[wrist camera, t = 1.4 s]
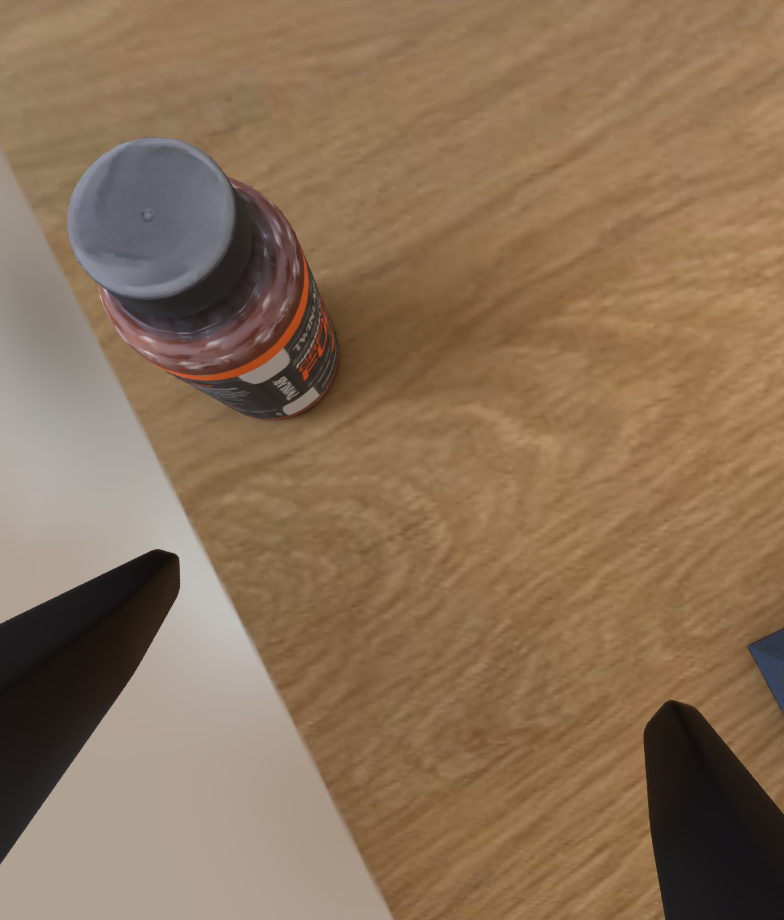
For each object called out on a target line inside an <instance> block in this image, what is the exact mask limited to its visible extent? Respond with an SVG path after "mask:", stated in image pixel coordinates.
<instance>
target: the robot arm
mask: <svg viewBox="0 0 784 920" xmlns="http://www.w3.org/2000/svg"><path fill="white" fill-rule="evenodd" d="M179 589H180V565H179V557H178V556H177V555H176V554H174V553H170V552H167V551H164V550H160V549H156V550H152V551H150V552H148V553H146V554H143V555H141V556H139V557H137V558H135V559H133V560H131V561H129V562H127V563H125V564H123V565H121V566H119V567H117V568H115V569H112V570H110V571H108V572H106V573H105V574H102V575H100V576H98V577H96V578H94V579H92V580H90V581H88V582H86V583H84V584H82V585H79V586H77V587H75V588H73V589H71V590H69V591H67V592H65V593H63V594H61V595H59V596H57V597H55V598H53V599H50V600H48V601H46V602H44V603H42V604H40V605H38V606H36V607H34V608H32V609H30V610H28V611H26V612H24V613H22V614H19V615H17V616H15V617H13V618H11V619H9V620H7V621H5V622H3V623H1V624H0V864H1V862H2V861H3V860H4V858H5V857H6V856H7V854H8V853H9V851H10V850H11V848H12V847H13V846H14V844H15V843H16V841H17V840H18V838H19V837H20V836H21V834H22V832H23V831H24V830H25V828H26V827H27V826H28V824H29V823H30V821H31V820H32V819H33V817H34V816H35V814H36V813H37V811H38V810H39V809H40V807H41V806H42V804H43V803H44V801H45V800H46V798H47V797H48V796H49V794H50V793H51V791H52V790H53V789H54V787H55V786H56V784H57V783H58V782H59V780H60V779H61V777H62V776H63V774H64V773H65V772H66V770H67V768H68V767H69V766H70V764H71V763H72V762H73V760H74V759H75V757H76V756H77V754H78V753H79V752H80V750H81V749H82V747H83V746H84V744H85V743H86V742H87V740H88V739H89V737H90V736H91V735H92V733H93V732H94V730H95V729H96V727H97V726H98V724H99V723H100V722H101V720H102V719H103V717H104V716H105V715H106V713H107V712H108V710H109V709H110V707H111V706H112V705H113V703H114V702H115V700H116V699H117V698H118V696H119V695H120V693H121V692H122V690H123V689H124V687H125V686H126V685H127V683H128V681H129V680H130V679H131V677H132V676H133V674H134V672H135V671H136V669H137V667H138V665H139V664H140V662H141V661H142V659H143V657H144V655H145V653H146V652H147V650H148V648H149V646H150V644H151V643H152V641H153V639H154V637H155V635H156V634H157V632H158V630H159V628H160V627H161V625H162V623H163V621H164V619H165V618H166V616H167V614H168V612H169V610H170V609H171V607H172V605H173V603H174V602H175V600H176V598H177V595H178V593H179ZM644 752H645V766H646V780H647V793H648V807H649V819H650V829H651V837H652V844H653V850H654V856H655V862H656V868H657V873H658V879H659V885H660V891H661V897H662V902H663V908H664V914H665V920H784V814H783V813H782V812H781V810H780V809H779V808H778V807H777V806H776V804H775V803H774V802H773V801H772V800H771V798H770V797H769V796H768V795H767V793H766V792H765V791H764V790H763V789H762V787H761V786H760V785H759V784H758V782H757V781H756V780H755V779H754V778H753V776H752V775H751V774H750V773H749V772H748V770H747V769H746V768H745V767H744V765H743V764H742V763H741V762H740V761H739V759H738V758H737V757H736V756H735V754H734V753H733V752H732V751H731V750H730V748H729V747H728V746H727V745H726V744H725V742H724V741H723V740H722V739H721V737H720V736H719V735H718V734H717V733H716V731H715V730H714V729H713V728H712V726H711V725H710V724H709V723H708V722H707V720H706V719H705V718H704V717H703V716H702V714H701V713H700V712H699V711H698V710H697V709H696V708H695V707H693V706H691V705H688V704H685V703H681V702H678V701H674V700H669V701H666V702H665V703H664V704H663V705H662V707H661V708H660V709H659V710H658V711H657V712H656V714H655V715H654V716H653V717H652V718H651V720H650V721H649V722H648V723H647V725H646V727H645V730H644Z"/></svg>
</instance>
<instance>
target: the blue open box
mask: <svg viewBox="0 0 784 920" xmlns="http://www.w3.org/2000/svg"><path fill="white" fill-rule="evenodd" d="M748 648H749V650H750V651H751V653H752V655H753V657H754V659H755V661H756V663H757V664H758V666H759V668H760V670H761V672H762V674H763V676H764V677H765V679H766V681H767V683H768V685H769V687H770V689H771V691H772V692H773V694H774V696H775V698H776V700H777V702H778V704H779V705H780V707H781V709H782V711H783V713H784V629H782V630H780V631H778V632H776V633H774V634H772V635H770V636H768V637H766V638H764V639H762V640H760V641H758V642H756V643H754V644H751V645H749V646H748Z"/></svg>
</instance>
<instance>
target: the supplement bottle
mask: <svg viewBox="0 0 784 920" xmlns="http://www.w3.org/2000/svg"><path fill="white" fill-rule="evenodd" d="M67 229H68V233H69V237H70V243H71V246H72V249H73V252H74V255H75V256H76V258H77V260H78V262H79V263H80V265H81V266H82V267H83V269H84V270H85V271H86V272H87V274H88V275H89V276H90V277H91V278H92V279H93V280H94V281H95V282H96V283H97V284H98V288H99V293H100V298H101V301H102V304H103V307H104V309H105V312H106V314H107V316H108V318H109V320H110V322H111V323H112V325H113V326H114V328H115V329H116V331H117V332H118V333H119V335H120V336H121V337H122V338H123V340H124V341H125V342H126V343H127V344H128V345H129V346H130V347H132V348H133V349H134V350H135V351H136V352H137V353H139V354H140V355H141V356H142V357H144V358H145V359H146V360H148V361H149V362H151V363H152V364H154V365H156V366H158V367H160V368H161V369H163V370H165V371H166V372H167V373H169V374H171V375H173V376H175V377H177V378H178V379H180V380H182V381H184V382H186V383H188V384H190V385H191V386H193V387H195V388H197V389H198V390H200V391H202V392H204V393H206V394H207V395H209V396H211V397H213V398H215V399H217V400H218V401H220V402H222V403H223V404H225V405H227V406H229V407H230V408H232V409H234V410H236V411H238V412H240V413H243V414H245V415H248V416H250V417H254V418H258V419H263V420H281V419H287V418H290V417H293V416H296V415H298V414H301V413H303V412H305V411H306V410H308V409H309V408H311V407H312V406H314V405H315V404H316V403H317V402H318V401H319V400H320V399H321V398H322V397H323V396H324V395H325V394H326V392H327V390H328V389H329V387H330V385H331V384H332V382H333V379H334V377H335V374H336V370H337V365H338V359H339V357H338V354H339V349H338V343H337V337H336V332H335V329H334V327H333V324H332V321H331V319H330V317H329V314H328V312H327V310H326V307H325V305H324V302H323V300H322V298H321V295H320V293H319V291H318V288H317V285H316V283H315V280H314V277H313V275H312V272H311V270H310V268H309V265H308V263H307V261H306V258H305V256H304V253H303V250H302V248H301V246H300V244H299V242H298V239H297V237H296V234H295V232H294V230H293V229H292V227H291V225H290V223H289V222H288V220H287V219H286V217H285V216H284V214H283V213H282V211H281V210H279V208H278V207H277V206H276V205H275V204H274V203H273V202H272V201H271V200H269V199H268V198H267V197H265V196H264V195H263V194H262V193H260V192H259V191H257V190H255V189H254V188H252V187H251V186H250V185H248V184H245V183H243V182H241V181H239V180H236V179H234V178H230V177H227V176H226V175H225V173H224V172H223V171H222V169H221V168H220V167H219V166H218V165H217V163H216V162H215V161H214V160H213V159H212V158H211V157H210V156H208V155H207V154H206V153H204V152H203V151H202V150H200V149H199V148H197V147H196V146H193V145H191V144H189V143H186V142H184V141H182V140H177V139H171V138H158V137H154V138H147V137H144V138H141V139H138V140H133V141H128V142H126V143H123V144H121V145H118V146H116V147H115V148H113V149H112V150H111V151H109V152H107V153H105V154H103V155H101V156H100V157H99V158H98V159H97V160H96V161H95V162H94V163H93V164H92V165H91V166H90V167H89V168H88V169H87V170H86V172H85V173H84V174H83V176H82V178H81V180H80V181H79V182H78V184H77V186H76V188H75V190H74V193H73V195H72V197H71V200H70V205H69V208H68V219H67Z"/></svg>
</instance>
